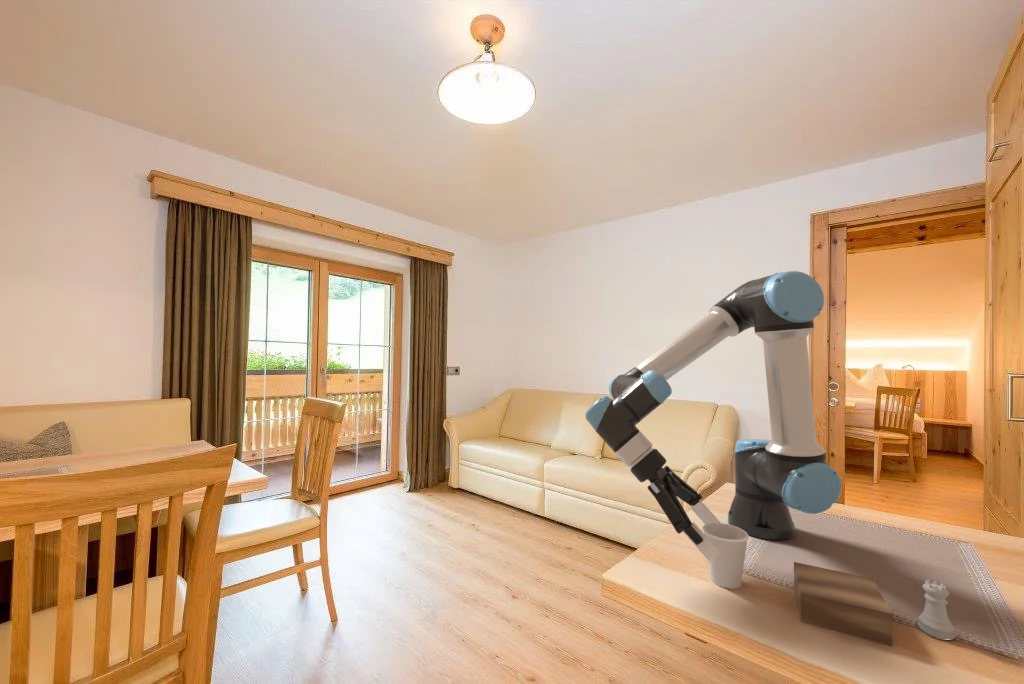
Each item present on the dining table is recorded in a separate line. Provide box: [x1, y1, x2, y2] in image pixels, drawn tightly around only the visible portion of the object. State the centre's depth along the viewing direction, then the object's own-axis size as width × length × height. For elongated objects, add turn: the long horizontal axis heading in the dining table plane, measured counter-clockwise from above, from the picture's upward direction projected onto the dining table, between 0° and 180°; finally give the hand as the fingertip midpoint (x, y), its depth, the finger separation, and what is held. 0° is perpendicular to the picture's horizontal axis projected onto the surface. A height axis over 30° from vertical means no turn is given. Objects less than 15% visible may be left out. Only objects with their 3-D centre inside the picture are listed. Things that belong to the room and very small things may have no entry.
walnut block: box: [793, 561, 894, 647], centre depth 75 cm, size 12×12×5 cm
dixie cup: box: [702, 522, 750, 590], centre depth 85 cm, size 8×8×10 cm
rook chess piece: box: [917, 579, 956, 640], centre depth 70 cm, size 4×4×8 cm
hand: (716, 542), depth 85 cm, fingers open, 13 cm apart
